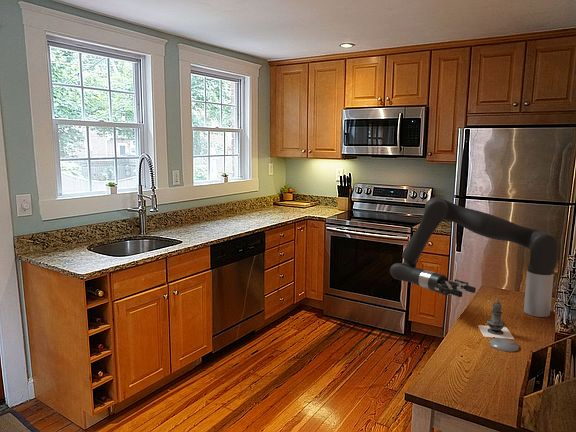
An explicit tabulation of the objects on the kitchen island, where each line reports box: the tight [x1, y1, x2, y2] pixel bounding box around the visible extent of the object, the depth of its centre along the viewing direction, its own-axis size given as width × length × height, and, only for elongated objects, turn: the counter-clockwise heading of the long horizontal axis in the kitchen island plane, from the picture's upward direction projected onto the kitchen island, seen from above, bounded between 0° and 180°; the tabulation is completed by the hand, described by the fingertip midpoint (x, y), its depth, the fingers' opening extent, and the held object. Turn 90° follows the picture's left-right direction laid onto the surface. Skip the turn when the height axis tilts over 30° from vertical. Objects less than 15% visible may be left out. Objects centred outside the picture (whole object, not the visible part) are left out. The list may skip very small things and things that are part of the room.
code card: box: [477, 324, 515, 340], centre depth 158 cm, size 10×10×1 cm
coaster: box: [489, 338, 520, 353], centre depth 148 cm, size 9×9×1 cm
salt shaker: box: [486, 300, 506, 335], centre depth 157 cm, size 6×6×12 cm
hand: (468, 292), depth 166 cm, fingers open, 8 cm apart
